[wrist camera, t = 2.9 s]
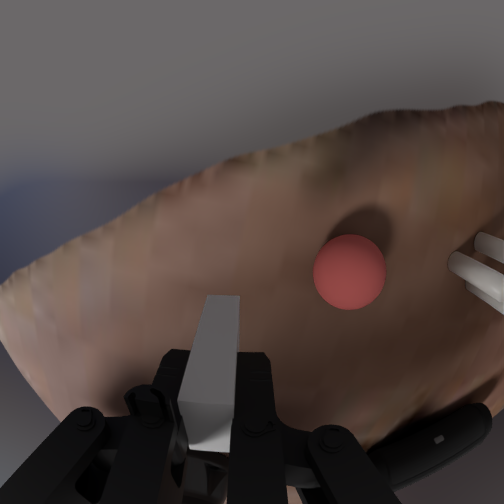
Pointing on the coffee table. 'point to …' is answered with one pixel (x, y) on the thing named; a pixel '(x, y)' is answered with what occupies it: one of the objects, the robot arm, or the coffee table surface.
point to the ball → (349, 271)
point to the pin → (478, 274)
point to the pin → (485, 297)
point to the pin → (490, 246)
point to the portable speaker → (432, 446)
